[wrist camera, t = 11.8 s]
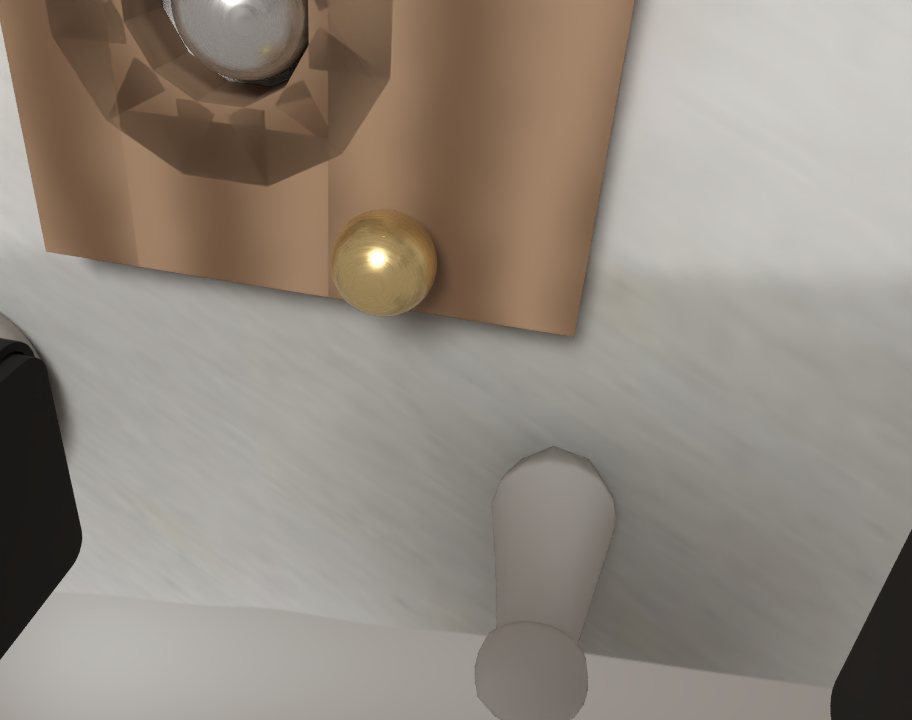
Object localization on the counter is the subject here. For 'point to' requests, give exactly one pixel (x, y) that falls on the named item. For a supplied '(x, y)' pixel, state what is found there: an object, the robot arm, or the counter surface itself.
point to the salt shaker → (544, 585)
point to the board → (330, 144)
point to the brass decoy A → (383, 262)
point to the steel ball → (244, 34)
